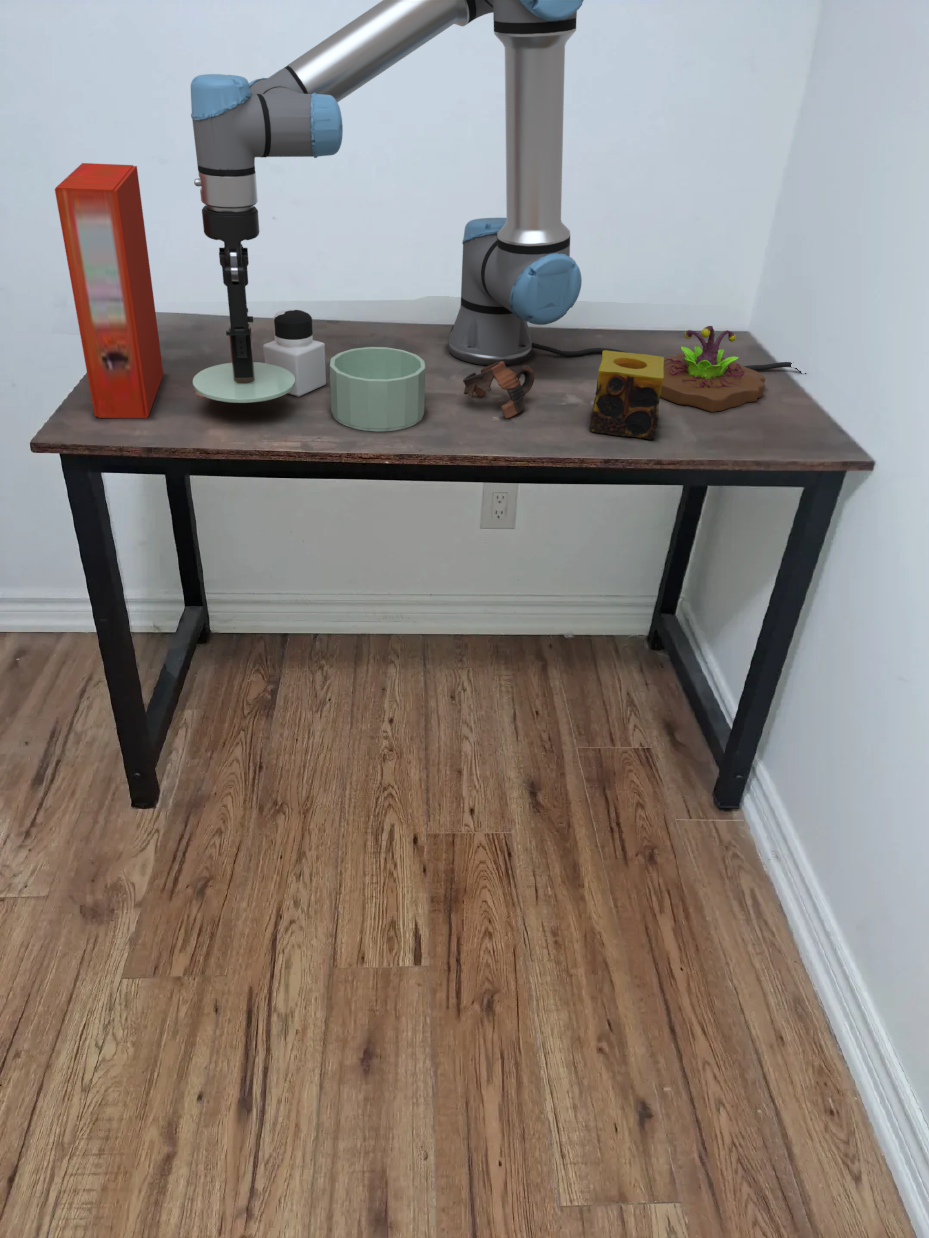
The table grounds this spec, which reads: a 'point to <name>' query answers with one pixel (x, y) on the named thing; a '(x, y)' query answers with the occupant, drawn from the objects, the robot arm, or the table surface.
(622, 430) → the yellow brown holed block
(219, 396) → the basin lid
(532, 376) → the brown grey curved piece
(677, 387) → the plant
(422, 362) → the basin
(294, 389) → the medicine bottle
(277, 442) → the table surface
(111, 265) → the file binder
